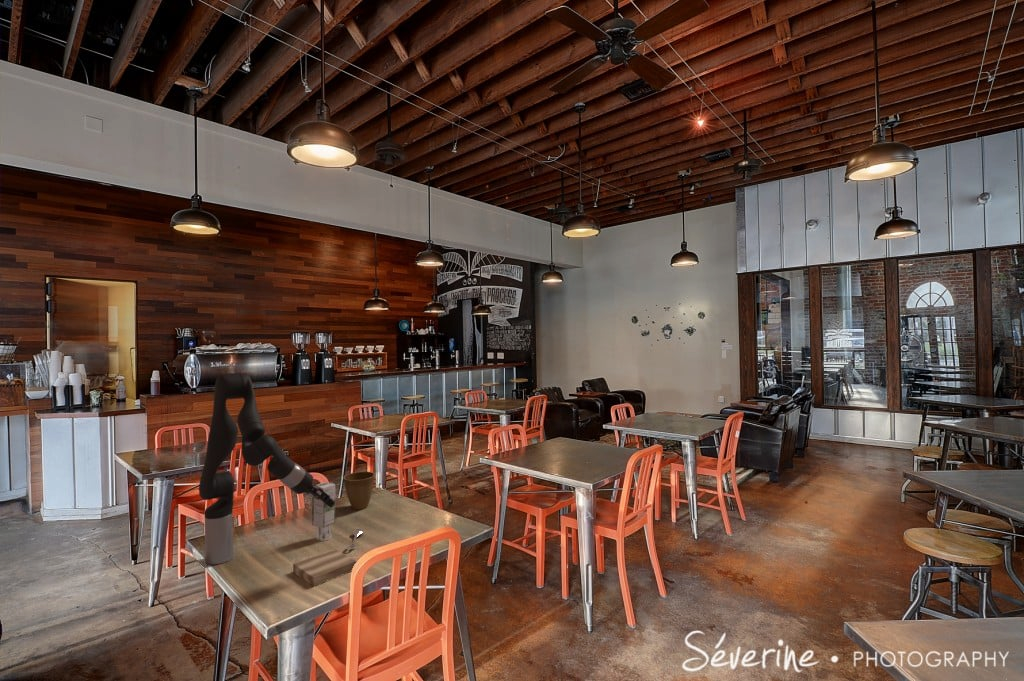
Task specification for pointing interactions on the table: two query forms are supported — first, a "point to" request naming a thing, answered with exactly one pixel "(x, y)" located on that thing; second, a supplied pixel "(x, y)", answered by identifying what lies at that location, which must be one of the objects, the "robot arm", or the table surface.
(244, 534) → the table surface
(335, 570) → the maple board
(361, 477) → the plant pot
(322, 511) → the syrup box
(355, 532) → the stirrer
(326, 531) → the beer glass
